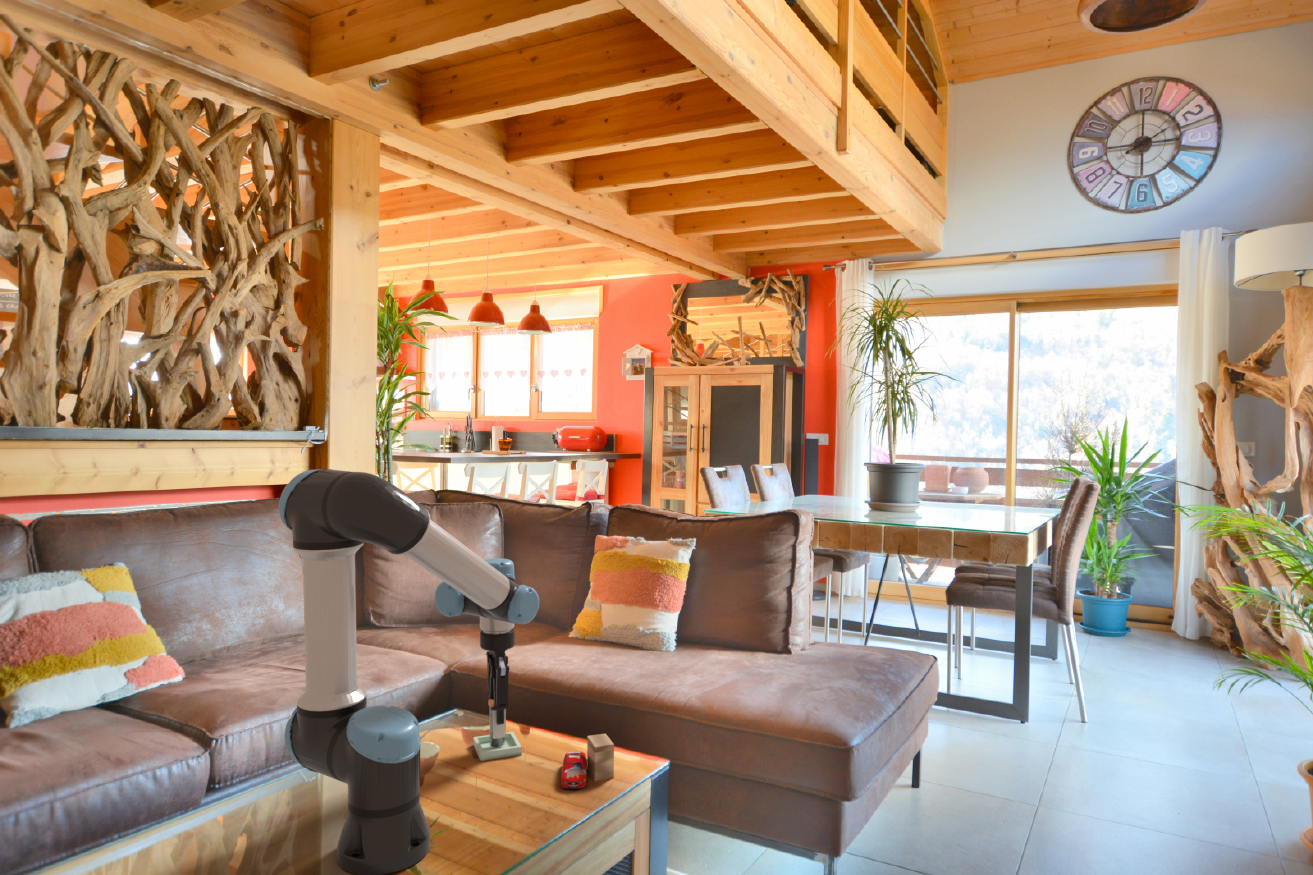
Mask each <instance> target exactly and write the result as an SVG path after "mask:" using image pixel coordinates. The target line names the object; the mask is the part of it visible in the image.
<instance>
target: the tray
mask: <svg viewBox="0 0 1313 875" xmlns="http://www.w3.org/2000/svg"><path fill="white" fill-rule="evenodd" d="M472 738H473V739H472V742H473V747H474V749H475V753H476V754H477V757H478V759H479V761H480V762H484V761H491V760H495V759H496V760H497V759H503V758H508V757H509V758H510V757H516V756H522V755H523V747H522V746H523V745H521V743H520V741H519V739H518V737H517V735H516V733H515V732H514V731H508V732H507V731H506V737H505V744H504V745H503V746H501V747H492V746H490V734H486V735H480V736H474V737H472Z"/></svg>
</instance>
